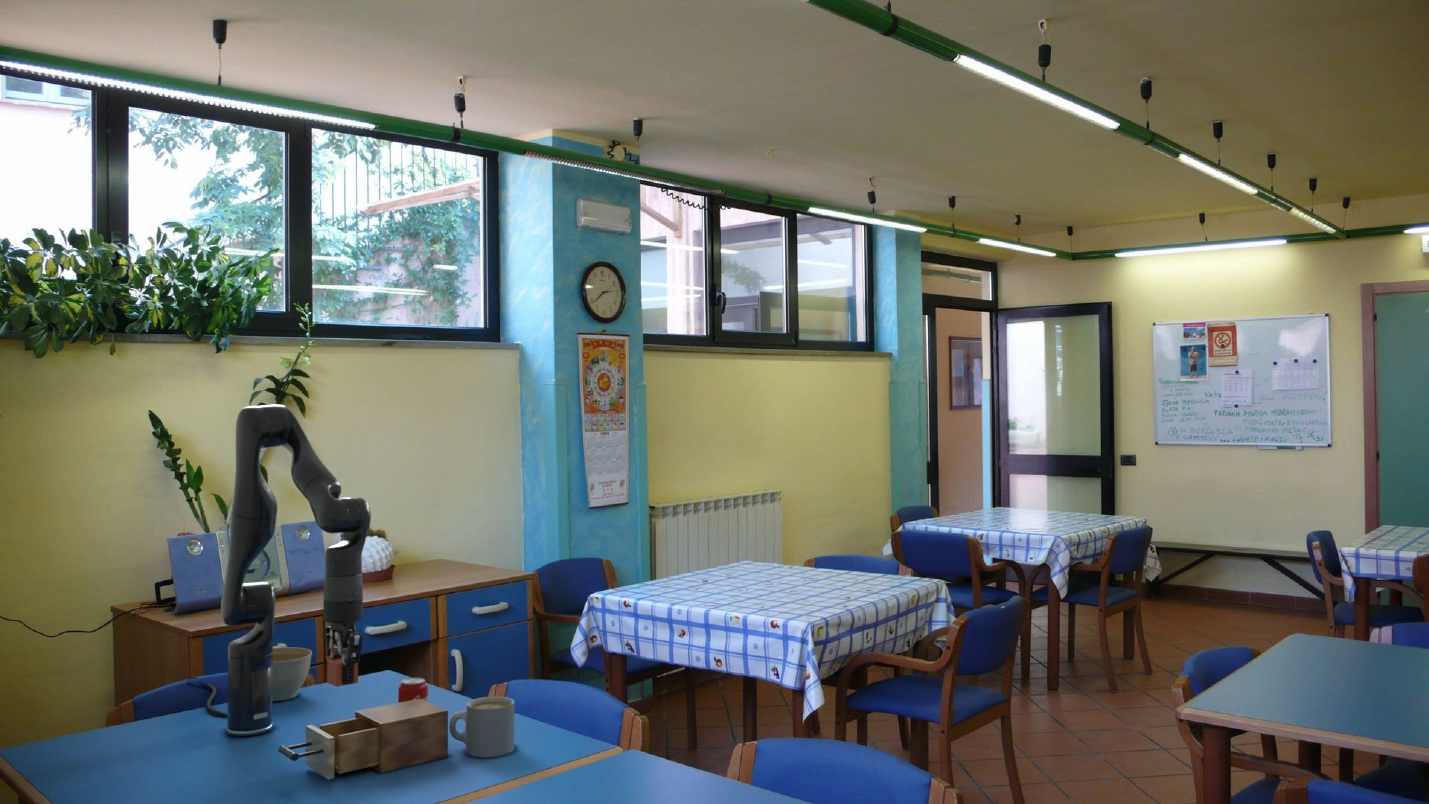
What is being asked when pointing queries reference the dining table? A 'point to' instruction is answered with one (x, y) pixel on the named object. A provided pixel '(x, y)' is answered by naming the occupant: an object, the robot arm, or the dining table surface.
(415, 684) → the beverage can
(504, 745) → the coffee mug
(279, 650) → the planter bowl
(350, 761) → the drawer
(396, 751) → the cabinet
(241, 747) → the dining table surface
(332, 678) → the block
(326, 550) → the robot arm
